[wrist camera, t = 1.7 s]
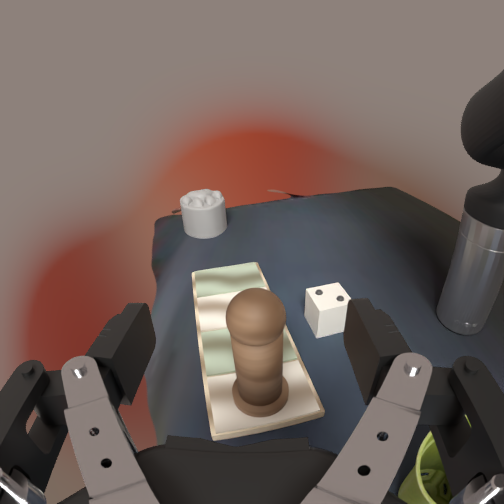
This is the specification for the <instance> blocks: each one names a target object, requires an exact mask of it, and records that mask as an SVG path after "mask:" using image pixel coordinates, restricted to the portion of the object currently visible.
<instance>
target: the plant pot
mask: <svg viewBox="0 0 504 504" xmlns="http://www.w3.org/2000/svg"><path fill="white" fill-rule="evenodd" d="M465 416H466V415H465ZM466 418H467V416H466ZM467 420H468V418H467ZM468 422H469V420H468ZM469 425H470V422H469ZM470 427H471V425H470ZM421 473H429V475H425V476H424V475H423V476H421ZM443 484H445V485H446V487H447V493H446V495H444V487H443ZM426 491H429V494H428V493H427V492H426ZM398 497H399V498H400V499H402V500H403V501H405V502H406V503H408V504H449V502H450V501H451V499H452V498H453V496H452V492H451V489H450V486H449V482H448V479H447V476H446V473H445V470H444V467H443V464H442V461H441V458H440V455H439V452H438V449H437V446H436V444H435V441H434V438H433V435H432V433H431V431H430V432H429V433H428V434H427V436H426V437H425V439H424V440H423V442H422V444H421V446H420V448H419V450H418V453H417V457H416V463H415V466H414V467H413V469H412V470H411V472H410V473H409V474H408V476H407V477H406V478H405V480H404V481H403V483H402V484H401V486H400V489H399V492H398Z"/></svg>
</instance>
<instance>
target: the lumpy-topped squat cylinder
mask: <svg viewBox="0 0 504 504" xmlns="http://www.w3.org/2000/svg"><path fill="white" fill-rule="evenodd" d="M180 205H181V211H182V218H183V224H184V230H185V232H186V234H188V235H190V236H192V237H196V238H212V237H216V236H218V235H220V234H221V233H223V232H224V231H225V229H226V228H227V220H226V210H225V200H224V197H223V196H222V194H221V192H219V191H211V190H209V189H203V190H199V191H192V192H189V193H188V194H187V195H185V196H183V197H182V198H181V199H180Z"/></svg>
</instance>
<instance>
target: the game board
mask: <svg viewBox="0 0 504 504" xmlns="http://www.w3.org/2000/svg"><path fill="white" fill-rule="evenodd" d="M192 281H193V293H194V304H195V314H196V324H197V334H198V343H199V351H200V359H201V368H202V375H203V383H204V390H205V397H206V404H207V411H208V417H209V424H210V430H211V436H212V439H213V441H216V440H223V439H229V438H235V437H241V436H246V435H251V434H256V433H261V432H266V431H270V430H275V429H279V428H283V427H287V426H291V425H295V424H299V423H303V422H306V421H310V420H313V419H317V418H320V417H324V413H325V410H324V408H323V406H322V403H321V401H320V399H319V397H318V395H317V392H316V390H315V388H314V386H313V384H312V381H311V379H310V377H309V375H308V373H307V370H306V368H305V366H304V364H303V362H302V359H301V357H300V355H299V353H298V351H297V348H296V346H295V344H294V342H293V340H292V337H291V335H290V333H289V331H288V329H287V326H286V324H285V327H284V330H283V376H284V378H285V379H286V380H287V383H288V386H289V394H288V400H287V403H286V405H285V406H284V407H283V409H282V410H280V411H279V412H278V413H276V414H274V415H271V416H268V417H252V416H249V415H246V414H244V413H243V412H241V411H240V410H239V409H238V408H237V407H236V405H235V403H234V399H233V394H232V386H233V383H234V381H235V380H236V378H237V377H236V371H235V364H234V358H233V351H232V344H231V337H230V332H229V330H228V328H227V325H226V310H227V307H228V305H229V303H230V301H231V300H232V298H233V297H234V296H235V295H237V294H238V293H239V292H241V291H243V290H245V289H248V288H263V289H266V290H269V291H270V289H269V287H268V285H267V283H266V280H265V278H264V276H263V274H262V272H261V269H260V267H259V265H258V263H255V262H252V263H246V264H239V265H233V266H226V267H220V268H213V269H207V270H200V271H194V272H193V273H192Z"/></svg>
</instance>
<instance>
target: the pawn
mask: <svg viewBox="0 0 504 504" xmlns="http://www.w3.org/2000/svg"><path fill="white" fill-rule="evenodd" d="M285 323H286V312H285V308H284V306H283V303H282V302H281V300H280V299H279V298H278V297H277V296H276V295H275V294H274V293H272V292H271V291H269V290H266V289H263V288H248V289H245V290H243V291H241V292H239V293H238V294H237V295H235V296H234V297H233V298H232V300H231V301H230V303H229V305H228V307H227V310H226V325H227V328H228V330H229V332H230V337H231V344H232V351H233V358H234V364H235V371H236V377H237V378H236V380H235V381H234V383H233V386H232V394H233V399H234V403H235V405H236V407H237V408H238V409H239V410H240V411H241V412H243V413H244V414H246V415H249V416H252V417H268V416H271V415H274V414H276V413H278V412H279V411H280V410H282V409H283V407H284V406H285V405H286V403H287V400H288V394H289V386H288V383H287V380H286V379H285V378H284V376H283V330H284V327H285Z"/></svg>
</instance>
